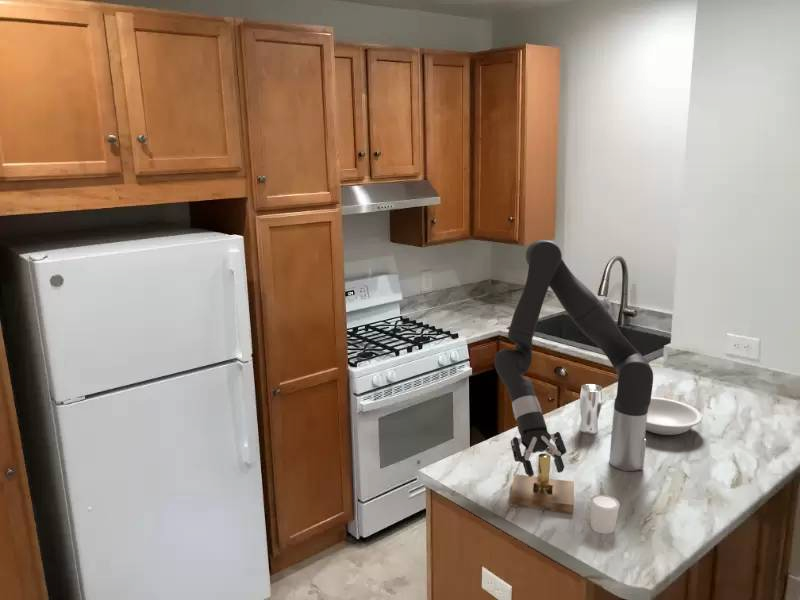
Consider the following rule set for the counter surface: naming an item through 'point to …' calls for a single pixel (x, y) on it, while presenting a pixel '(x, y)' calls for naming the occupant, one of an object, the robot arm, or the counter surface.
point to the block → (556, 502)
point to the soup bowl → (671, 417)
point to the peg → (543, 473)
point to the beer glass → (590, 408)
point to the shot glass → (603, 513)
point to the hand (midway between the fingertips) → (546, 473)
